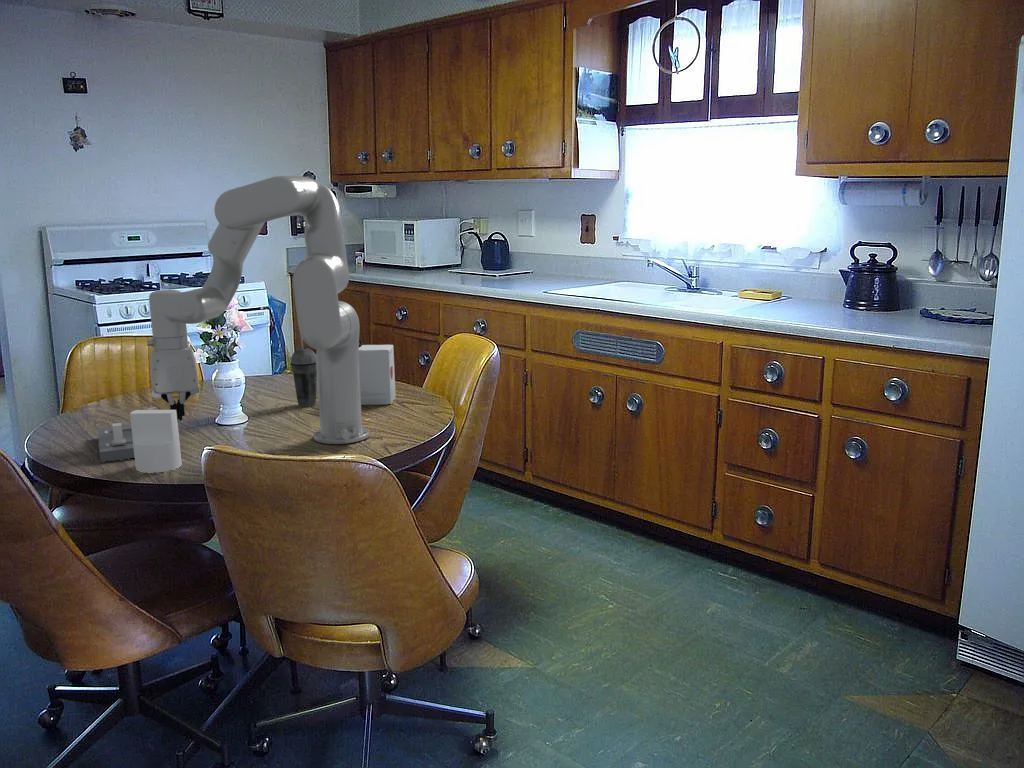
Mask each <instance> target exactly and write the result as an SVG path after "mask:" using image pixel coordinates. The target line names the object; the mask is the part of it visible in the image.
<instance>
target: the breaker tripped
mask: <svg viewBox="0 0 1024 768" xmlns="http://www.w3.org/2000/svg"><path fill="white" fill-rule="evenodd" d="M157 408H158V407H157V406H154V407H147V410H158V409H157Z"/></svg>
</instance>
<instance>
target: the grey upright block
mask: <svg viewBox="0 0 1024 768" xmlns="http://www.w3.org/2000/svg"><path fill="white" fill-rule="evenodd" d="M129 418H130V425H131V428H132V437H133V448H134V457H135V459H134V464H135V465H134V466H135V471H136V470H137V471H140V472H147V473H153V472H163V471H169V470H173V471H175V470H177V469H176V468H178V469H179V467H180V466H181V465H182V466H183V463H182V453H181V445H180V435H179V434H180V433H179V424H178V421H177V413H176V410H170V409H157V410H148V409H135V410H132V411H131V412H129ZM182 466H181V467H182ZM181 467H180V468H181ZM174 469H175V470H174ZM137 471H136V472H137ZM169 472H170V471H169Z"/></svg>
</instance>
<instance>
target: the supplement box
mask: <svg viewBox="0 0 1024 768" xmlns="http://www.w3.org/2000/svg"><path fill="white" fill-rule="evenodd" d="M394 350H395V349H394V344H362V345H361V346H359V378H360V397H361V406H374V405H377V406H379V405H380V406H382V405H383V406H384V405H385V406H387V405H388V404H391V405H392V403H393V402H394V401H395V399H396V379H395V378H396V377H395V355H394ZM393 400H394V401H393ZM388 406H389V405H388Z"/></svg>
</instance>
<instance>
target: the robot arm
mask: <svg viewBox="0 0 1024 768" xmlns="http://www.w3.org/2000/svg"><path fill="white" fill-rule="evenodd" d="M213 209H214V216H215V218H216V220H217V222H218V225H217V226H216V227H215V231H214V232H213V233H212V236H211V238H210V240H209V242H207V243H208V244H207V250H208V251H209V253H210V254H211V256H212V259H213V262H212V263H213V264H212V268H211V270H210V273H209V275H208V277H207V279H206V280H205V282H204V283H203V286H202V287H199V288H196V289H193V290H187V291H180V290H176V289H161V290H154V291H152V292H150V293H149V296H148V304H149V314H150V323H151V330H152V331H151V332H152V333H151V334H152V338H151V339H147V340H146V346H147V347H152V348H153V349H152V350H151V351H150V362H149V363H150V364H149V367H150V368H149V369H150V371H149V372H150V382H151V394H150V395H151V398H154V399H162V400H164V402H167V403H168V404H169V410H176V413H177V422H178V421H181V422H182V421H183V417H185V415H186V413H185V405H184V404H185V402H186V401H187V400H188V399H189V397H191V396H194V395H196V394H199V393H200V392H201V390H200V388H199V378H198V377H199V376H198V369H197V364H196V358H195V354H194V350H193V348H192V347H191V346H189V340H188V331H187V329H188V328H187V324H188V325H189V324H190V325H196V324H199V323H204V322H207V321H209V320H212V319H215V318H218V317H220V316H221V315H222V314H224V312H225V311H226V310H227V308H228V307H229V305H230V303H231V301H232V300H233V298H234V296H235V294H237V293H236V292H237V291H238V289H239V286H240V284H241V279H242V275H243V269H244V263H245V260H246V258H247V257H248V254H249V253H250V251H251V248H252V246H253V245H254V243H255V241H256V240H257V238H258V236H259V234H260V232H261V230H262V228H263V226H264V225H265V223H266V222H270V221H273V220H277V219H281V218H284V217H285V218H286V217H292V216H293V217H295V216H301V217H303V219H304V233H303V235H304V241H305V242H304V243H305V248H306V249H305V250H306V257H305V258H303V259H302V260H301V261H299V262H298V264H297V265H296V267H295V269H294V272H293V277H292V286H293V287H292V288H293V295H294V302H295V303H294V304H295V311H296V316H297V317H296V318H297V324H298V329H299V335H300V334H301V336H302V339H303V342H304V343H305V344H307V346H309V347H310V348H311V349H314V350H316V353H315V354H316V367H317V384H316V386H317V397H318V411H319V428H320V429H319V430H317V431H315V432H314V433H313V438H314V439H313V440H314V441H316V442H318V443H321V444H327V445H343V444H351V443H358V442H360V441H364V440H365V439H368V437H370V430H369V429H368V428H366V427H364V426H363V420H362V405H361V397H360V378H359V347H360V345H359V344H360V318H359V316H358V314H357V312H356V310H355V308H354V307H353V306H352V305H350V304H349V303H347V302H345V301H341V300H339V296H338V294H341V292H343V291H344V290H345V289H346V288H347V287H348V285H349V280H350V271H349V266H348V265H349V263H348V257H347V249H346V241H345V236H344V229H343V228H344V227H343V221H342V220H343V219H342V212H341V208H340V204H339V202H338V199H337V198H336V195H335V194H334V193H333V191H332V189H330V188H329V187H328V186H326V185H325V184H323V183H322V182H320V181H319V180H316V179H314V178H310V177H307V176H304V175H303V176H301V175H276V176H271V177H268V178H266V179H261V180H259V181H255V182H251V183H249V184H246V185H245V184H244V185H242V186H240V187H236V188H231V189H228V190H226V191H224V192H222V194H220V195H219V197H218V198H217V199H216V201H215V204H214V208H213ZM173 393H178V399H177V402H176V400H175V399H174V395H173Z"/></svg>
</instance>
